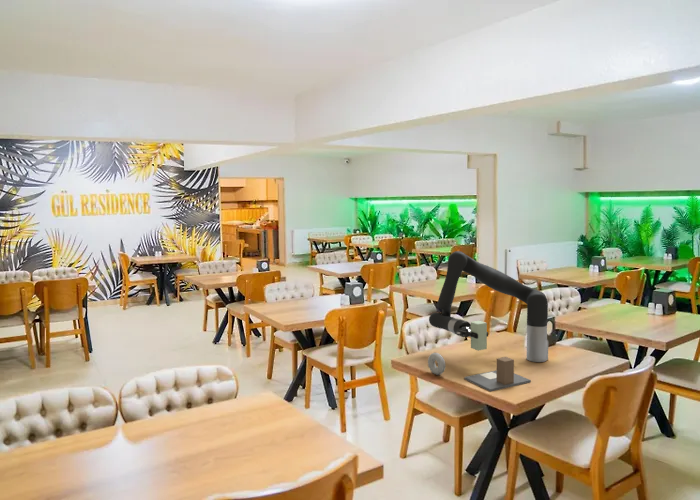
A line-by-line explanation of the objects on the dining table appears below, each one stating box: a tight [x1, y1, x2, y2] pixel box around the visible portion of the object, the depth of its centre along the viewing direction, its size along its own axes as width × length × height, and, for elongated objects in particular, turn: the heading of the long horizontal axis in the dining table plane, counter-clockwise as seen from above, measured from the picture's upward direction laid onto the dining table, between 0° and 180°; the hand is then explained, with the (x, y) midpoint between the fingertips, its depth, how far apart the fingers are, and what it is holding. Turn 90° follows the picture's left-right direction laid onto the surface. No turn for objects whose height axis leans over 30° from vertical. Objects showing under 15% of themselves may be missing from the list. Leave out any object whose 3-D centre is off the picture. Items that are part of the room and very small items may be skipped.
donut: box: [427, 352, 446, 376], centre depth 241 cm, size 10×4×10 cm, turn 34°
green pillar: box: [470, 320, 488, 351], centre depth 241 cm, size 5×5×12 cm
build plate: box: [463, 356, 532, 392], centre depth 231 cm, size 22×17×11 cm
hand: (482, 335), depth 238 cm, fingers closed on green pillar, 5 cm apart
